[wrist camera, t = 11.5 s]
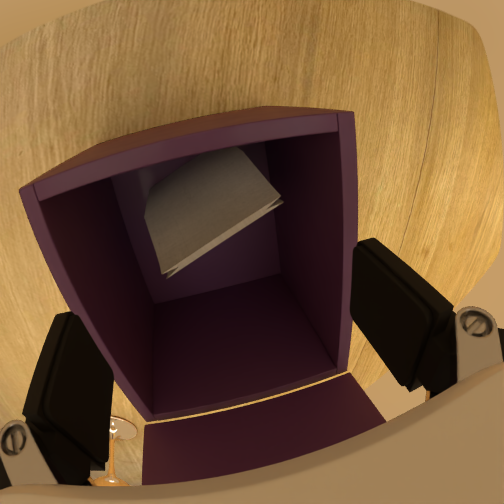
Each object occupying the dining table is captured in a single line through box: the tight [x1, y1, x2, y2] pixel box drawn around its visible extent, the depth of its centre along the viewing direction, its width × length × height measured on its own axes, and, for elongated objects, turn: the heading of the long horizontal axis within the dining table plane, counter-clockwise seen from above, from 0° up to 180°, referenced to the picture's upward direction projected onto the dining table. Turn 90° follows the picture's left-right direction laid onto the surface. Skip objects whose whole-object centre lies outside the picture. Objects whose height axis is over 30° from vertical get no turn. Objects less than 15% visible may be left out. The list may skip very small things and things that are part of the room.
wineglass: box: [93, 416, 137, 486], centre depth 27 cm, size 8×8×20 cm
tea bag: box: [144, 146, 284, 279], centre depth 18 cm, size 4×7×10 cm, turn 120°
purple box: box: [19, 106, 358, 422], centre depth 19 cm, size 16×14×13 cm
